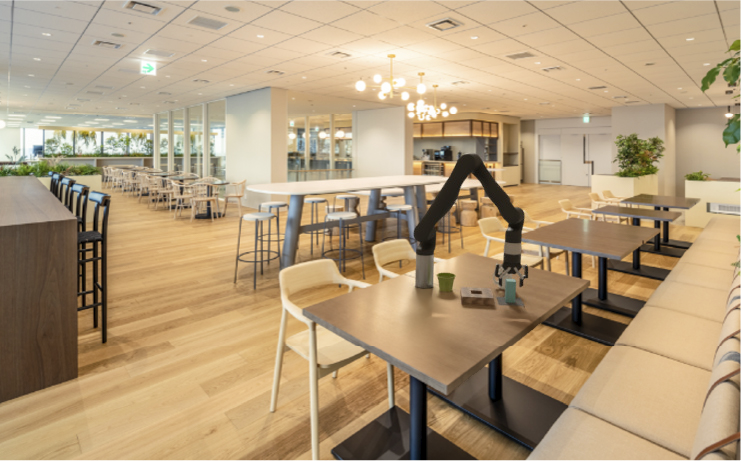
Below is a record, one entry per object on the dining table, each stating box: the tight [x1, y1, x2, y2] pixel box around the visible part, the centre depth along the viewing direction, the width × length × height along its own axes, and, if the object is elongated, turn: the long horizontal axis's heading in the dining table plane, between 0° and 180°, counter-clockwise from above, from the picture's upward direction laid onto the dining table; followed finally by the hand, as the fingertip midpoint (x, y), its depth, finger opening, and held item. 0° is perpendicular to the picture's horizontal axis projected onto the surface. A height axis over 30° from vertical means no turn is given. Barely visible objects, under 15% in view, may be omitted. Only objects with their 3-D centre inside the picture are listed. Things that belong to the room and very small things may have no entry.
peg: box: [504, 278, 517, 303], centre depth 183 cm, size 4×4×10 cm
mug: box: [492, 267, 513, 290], centre depth 202 cm, size 10×7×12 cm, turn 96°
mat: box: [495, 296, 525, 309], centre depth 184 cm, size 11×11×1 cm
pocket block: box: [459, 286, 495, 307], centre depth 186 cm, size 14×14×4 cm
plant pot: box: [436, 272, 456, 293], centre depth 200 cm, size 9×9×9 cm
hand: (510, 286), depth 183 cm, fingers open, 8 cm apart
